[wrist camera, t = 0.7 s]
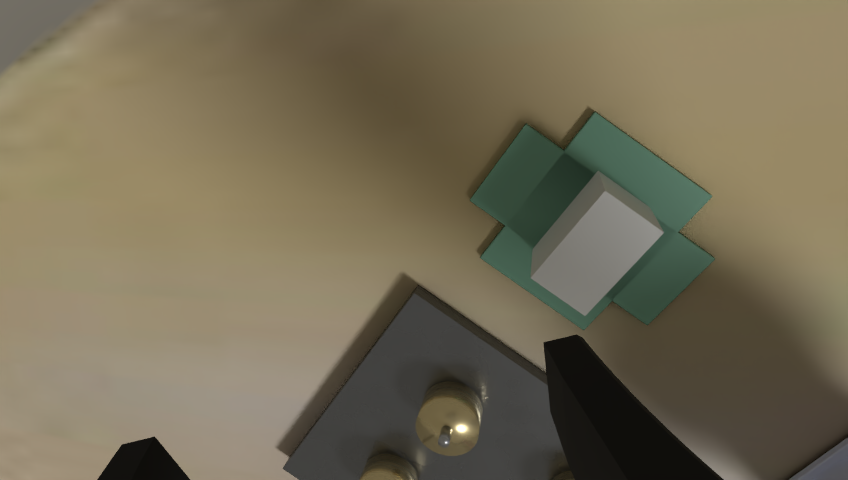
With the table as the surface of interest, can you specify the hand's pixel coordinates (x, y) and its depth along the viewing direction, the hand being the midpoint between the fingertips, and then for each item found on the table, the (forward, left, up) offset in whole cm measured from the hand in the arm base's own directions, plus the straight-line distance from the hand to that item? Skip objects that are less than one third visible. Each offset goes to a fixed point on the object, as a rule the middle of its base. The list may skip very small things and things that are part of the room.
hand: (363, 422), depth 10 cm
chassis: (-11, +15, -19) cm, 26 cm away
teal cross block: (-6, -1, -19) cm, 20 cm away
